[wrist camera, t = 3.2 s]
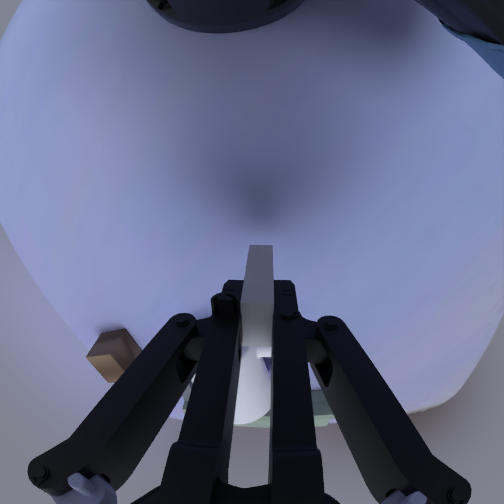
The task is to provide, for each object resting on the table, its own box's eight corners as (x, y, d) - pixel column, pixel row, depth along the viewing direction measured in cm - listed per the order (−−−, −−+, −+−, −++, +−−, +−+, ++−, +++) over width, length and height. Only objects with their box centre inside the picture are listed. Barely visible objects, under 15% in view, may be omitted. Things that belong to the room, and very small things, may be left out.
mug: (218, 377, 34) (208, 426, 27) (187, 323, 30) (168, 375, 23) (307, 365, 32) (312, 417, 25) (292, 305, 28) (297, 361, 21)
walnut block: (101, 332, 32) (85, 357, 28) (126, 328, 31) (110, 354, 27) (121, 358, 34) (108, 382, 30) (146, 355, 33) (133, 381, 29)
